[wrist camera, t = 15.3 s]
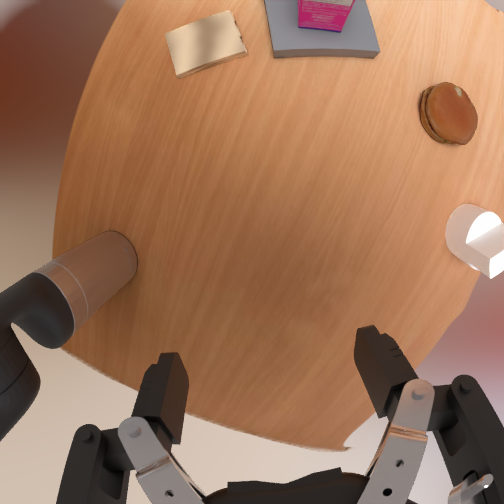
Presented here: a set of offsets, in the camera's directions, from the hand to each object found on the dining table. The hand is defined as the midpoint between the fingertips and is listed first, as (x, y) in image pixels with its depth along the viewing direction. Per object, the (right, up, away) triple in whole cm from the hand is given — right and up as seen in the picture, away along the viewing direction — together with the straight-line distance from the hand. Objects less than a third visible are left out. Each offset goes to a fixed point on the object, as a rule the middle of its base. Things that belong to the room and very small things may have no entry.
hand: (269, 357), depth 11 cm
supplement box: (+8, +35, +13) cm, 38 cm away
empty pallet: (-7, +33, +18) cm, 39 cm away
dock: (+8, +36, +15) cm, 41 cm away
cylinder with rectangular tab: (+34, +8, +23) cm, 42 cm away
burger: (+28, +25, +18) cm, 41 cm away
